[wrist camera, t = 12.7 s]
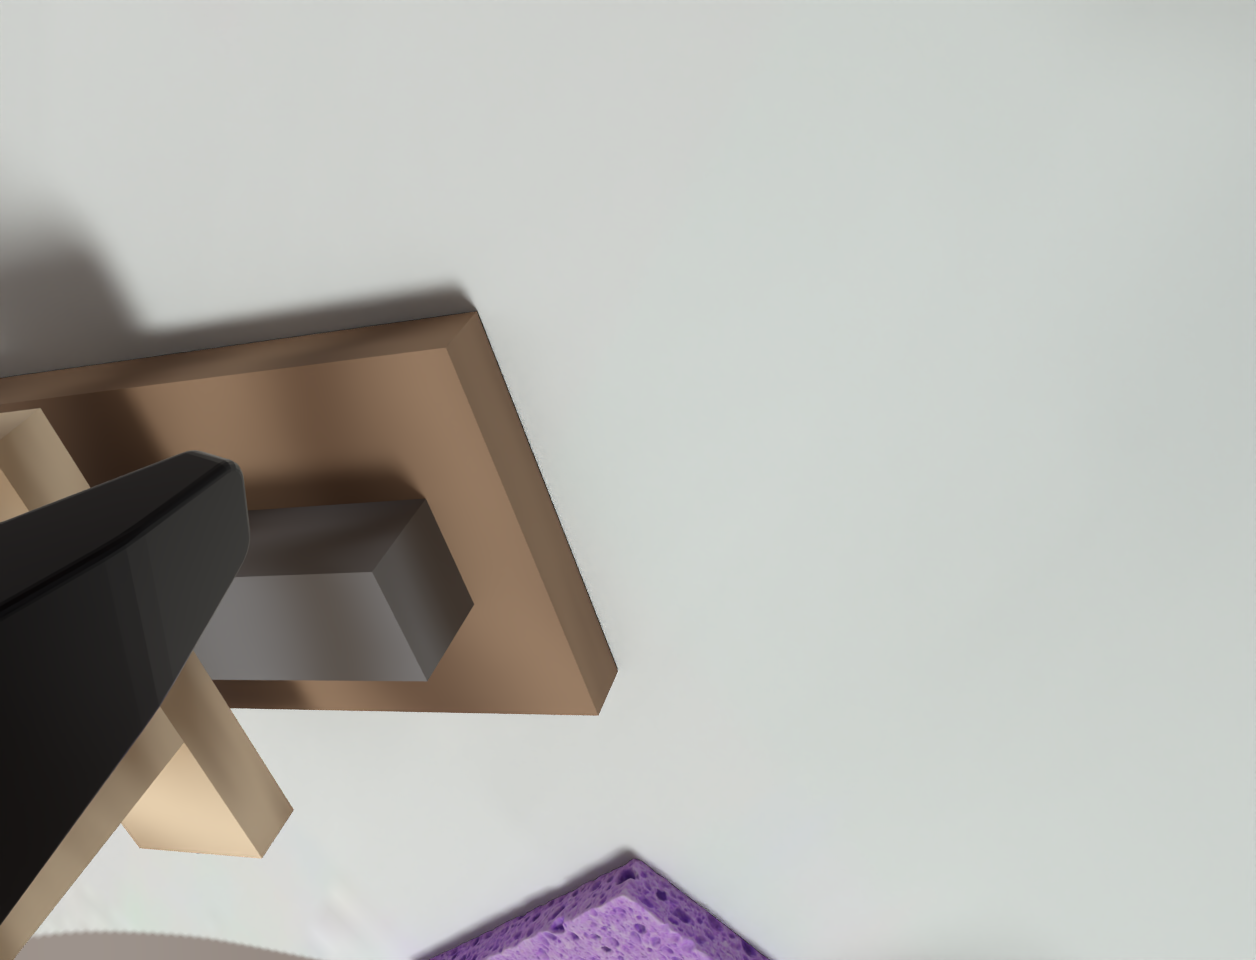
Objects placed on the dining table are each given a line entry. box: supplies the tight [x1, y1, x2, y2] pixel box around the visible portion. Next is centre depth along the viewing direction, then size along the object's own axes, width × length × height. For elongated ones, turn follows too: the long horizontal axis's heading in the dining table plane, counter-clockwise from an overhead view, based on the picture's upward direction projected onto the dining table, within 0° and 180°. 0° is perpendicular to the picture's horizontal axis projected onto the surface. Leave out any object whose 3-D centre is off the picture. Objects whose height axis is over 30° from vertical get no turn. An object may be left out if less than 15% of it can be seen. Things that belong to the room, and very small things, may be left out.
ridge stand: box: [0, 311, 618, 715], centre depth 30 cm, size 20×10×4 cm, turn 107°
